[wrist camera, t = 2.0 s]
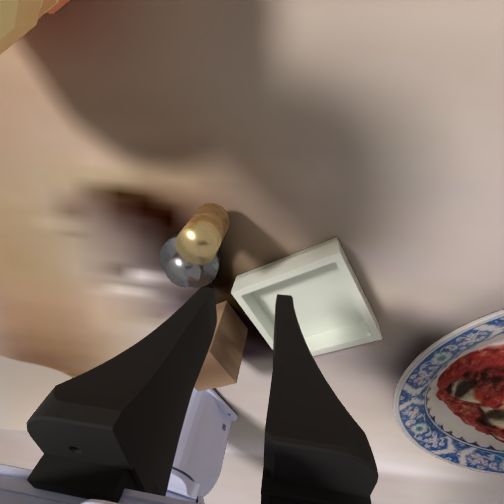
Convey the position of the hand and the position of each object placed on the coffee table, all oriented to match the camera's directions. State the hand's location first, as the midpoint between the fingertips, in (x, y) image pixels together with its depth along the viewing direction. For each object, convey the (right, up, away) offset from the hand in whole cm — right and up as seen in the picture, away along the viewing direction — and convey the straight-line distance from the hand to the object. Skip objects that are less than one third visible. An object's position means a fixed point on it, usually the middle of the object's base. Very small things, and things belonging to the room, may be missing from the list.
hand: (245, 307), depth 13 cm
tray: (+5, -1, +12) cm, 13 cm away
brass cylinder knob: (-4, +3, +9) cm, 11 cm away
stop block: (-3, -4, +16) cm, 16 cm away
